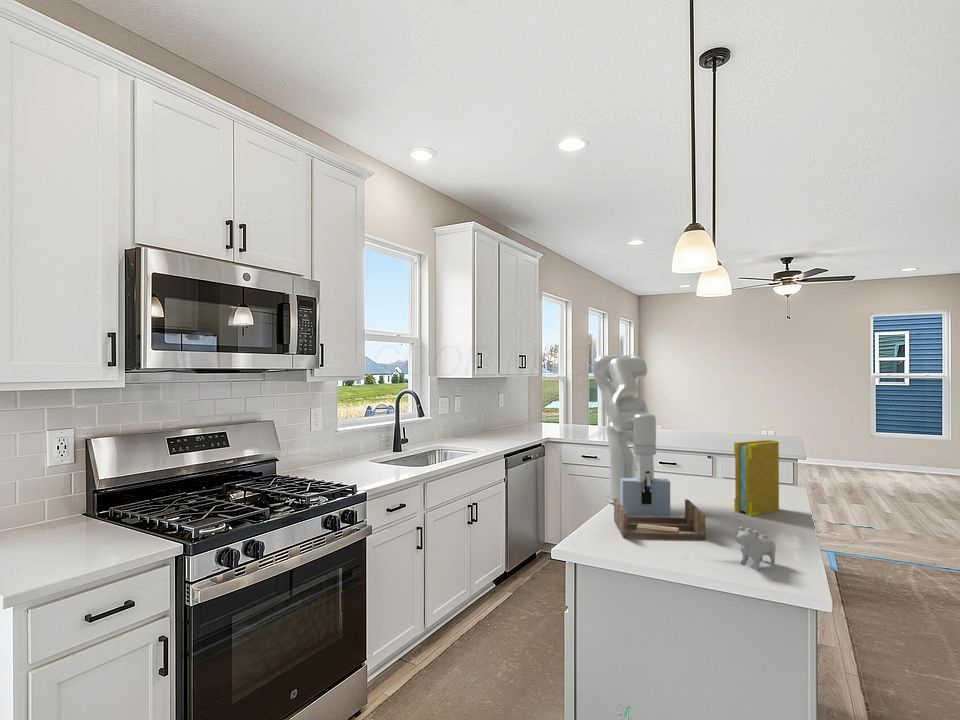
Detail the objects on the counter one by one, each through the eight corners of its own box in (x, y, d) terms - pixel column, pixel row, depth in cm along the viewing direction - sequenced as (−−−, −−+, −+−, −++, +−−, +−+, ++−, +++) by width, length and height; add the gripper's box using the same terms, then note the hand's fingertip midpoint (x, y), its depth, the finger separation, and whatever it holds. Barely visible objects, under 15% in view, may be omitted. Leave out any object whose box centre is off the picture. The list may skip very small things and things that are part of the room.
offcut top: (638, 529, 179) (638, 523, 179) (678, 534, 174) (678, 527, 174) (636, 533, 175) (636, 527, 175) (677, 538, 170) (677, 531, 170)
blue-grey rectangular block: (620, 511, 200) (620, 477, 200) (666, 512, 199) (666, 478, 199) (622, 515, 195) (622, 480, 195) (670, 516, 194) (670, 481, 194)
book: (750, 516, 199) (749, 444, 199) (734, 511, 205) (734, 442, 205) (783, 510, 206) (783, 441, 206) (767, 506, 212) (767, 439, 212)
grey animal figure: (729, 566, 151) (729, 526, 151) (761, 558, 157) (760, 519, 157) (747, 573, 146) (747, 531, 146) (779, 564, 152) (778, 524, 152)
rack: (614, 525, 188) (614, 498, 188) (688, 526, 186) (688, 499, 186) (623, 542, 170) (623, 512, 170) (705, 544, 168) (705, 514, 168)
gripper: (629, 445, 206) (629, 495, 206) (638, 453, 189) (638, 508, 189) (650, 445, 205) (650, 496, 205) (661, 453, 188) (661, 508, 188)
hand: (644, 501), depth 197 cm, fingers closed on blue-grey rectangular block, 4 cm apart
